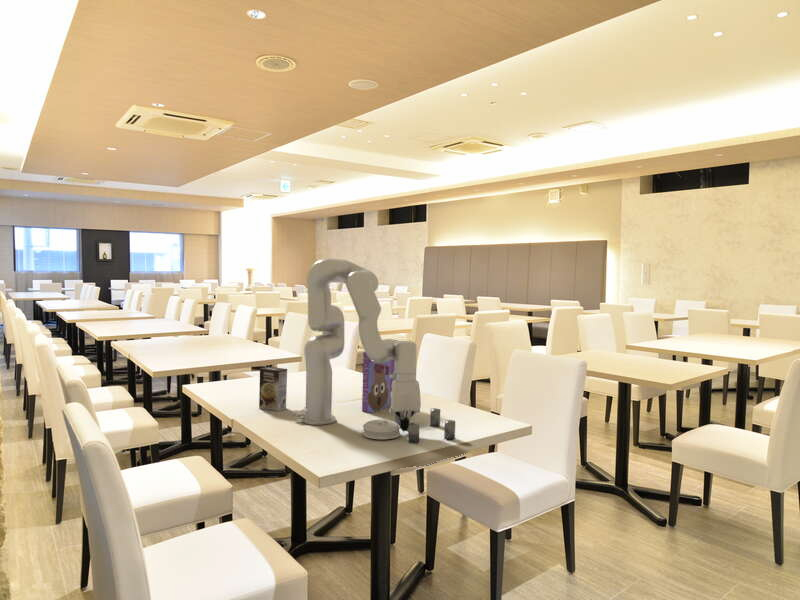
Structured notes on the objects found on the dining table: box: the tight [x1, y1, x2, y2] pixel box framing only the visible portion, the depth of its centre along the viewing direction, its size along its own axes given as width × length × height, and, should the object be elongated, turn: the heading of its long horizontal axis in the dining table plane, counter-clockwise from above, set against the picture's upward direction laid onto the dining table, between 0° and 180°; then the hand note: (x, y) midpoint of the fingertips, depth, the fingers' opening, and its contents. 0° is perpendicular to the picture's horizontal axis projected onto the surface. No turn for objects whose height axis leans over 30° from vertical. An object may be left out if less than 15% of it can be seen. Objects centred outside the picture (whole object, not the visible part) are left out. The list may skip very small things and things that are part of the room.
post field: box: [394, 407, 456, 444], centre depth 192 cm, size 17×23×6 cm
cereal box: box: [361, 351, 395, 414], centre depth 225 cm, size 17×5×24 cm, turn 152°
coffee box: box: [258, 366, 288, 412], centre depth 220 cm, size 9×6×16 cm
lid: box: [362, 419, 401, 440], centre depth 188 cm, size 13×13×5 cm
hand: (404, 430), depth 190 cm, fingers closed
